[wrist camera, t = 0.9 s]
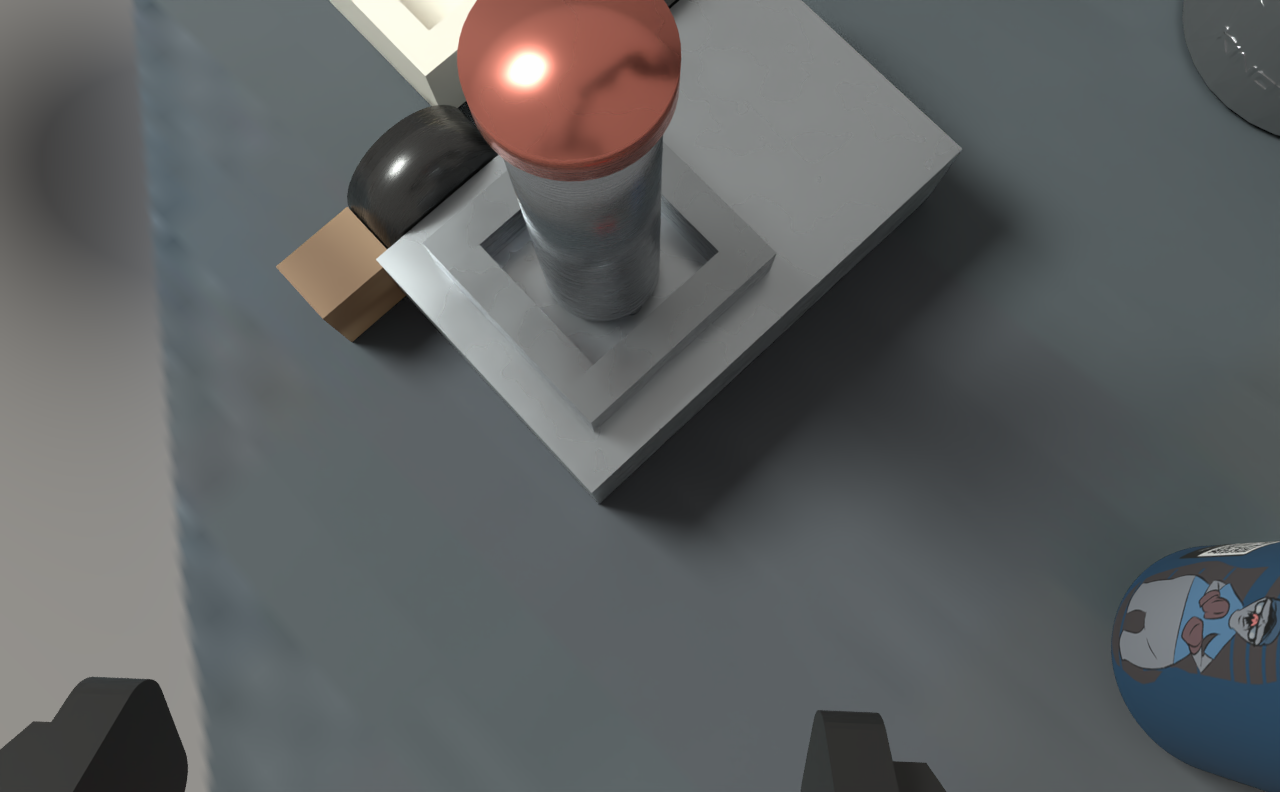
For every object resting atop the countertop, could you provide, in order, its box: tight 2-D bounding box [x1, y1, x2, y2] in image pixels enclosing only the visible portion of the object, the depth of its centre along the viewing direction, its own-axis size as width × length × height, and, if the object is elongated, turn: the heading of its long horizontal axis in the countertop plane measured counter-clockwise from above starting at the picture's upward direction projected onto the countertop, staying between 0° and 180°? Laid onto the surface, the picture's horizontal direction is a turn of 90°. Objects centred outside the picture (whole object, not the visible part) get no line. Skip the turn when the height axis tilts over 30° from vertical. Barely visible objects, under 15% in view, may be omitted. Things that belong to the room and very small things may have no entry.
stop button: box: [457, 0, 681, 322], centre depth 24 cm, size 4×4×12 cm
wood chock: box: [276, 207, 406, 342], centre depth 32 cm, size 3×2×3 cm
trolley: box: [347, 0, 962, 504], centre depth 31 cm, size 16×12×6 cm
